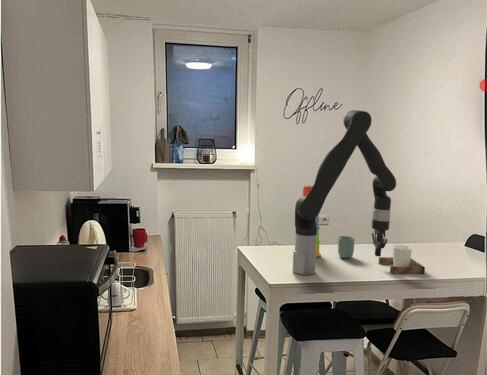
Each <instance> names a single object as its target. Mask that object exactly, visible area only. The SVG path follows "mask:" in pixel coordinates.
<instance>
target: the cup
mask: <svg viewBox="0 0 487 375" xmlns="http://www.w3.org/2000/svg"><path fill="white" fill-rule="evenodd" d="M355 239H356V238H354V237H353V236H349V235H347V236H346V235H340V236H338V239H337V240H338V242H337V254H338V255H339V257H340V258H341V259H343V260H344V259H345V260H347V259H348V260H349V259H352V258H353V256H354V253H355V242H356V241H355Z"/></svg>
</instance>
